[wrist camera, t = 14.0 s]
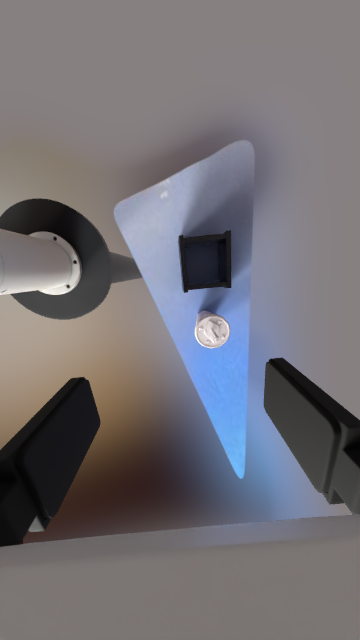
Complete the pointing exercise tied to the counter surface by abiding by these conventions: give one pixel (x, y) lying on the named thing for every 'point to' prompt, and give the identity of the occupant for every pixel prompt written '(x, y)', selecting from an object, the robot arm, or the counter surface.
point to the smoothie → (211, 329)
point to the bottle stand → (223, 255)
